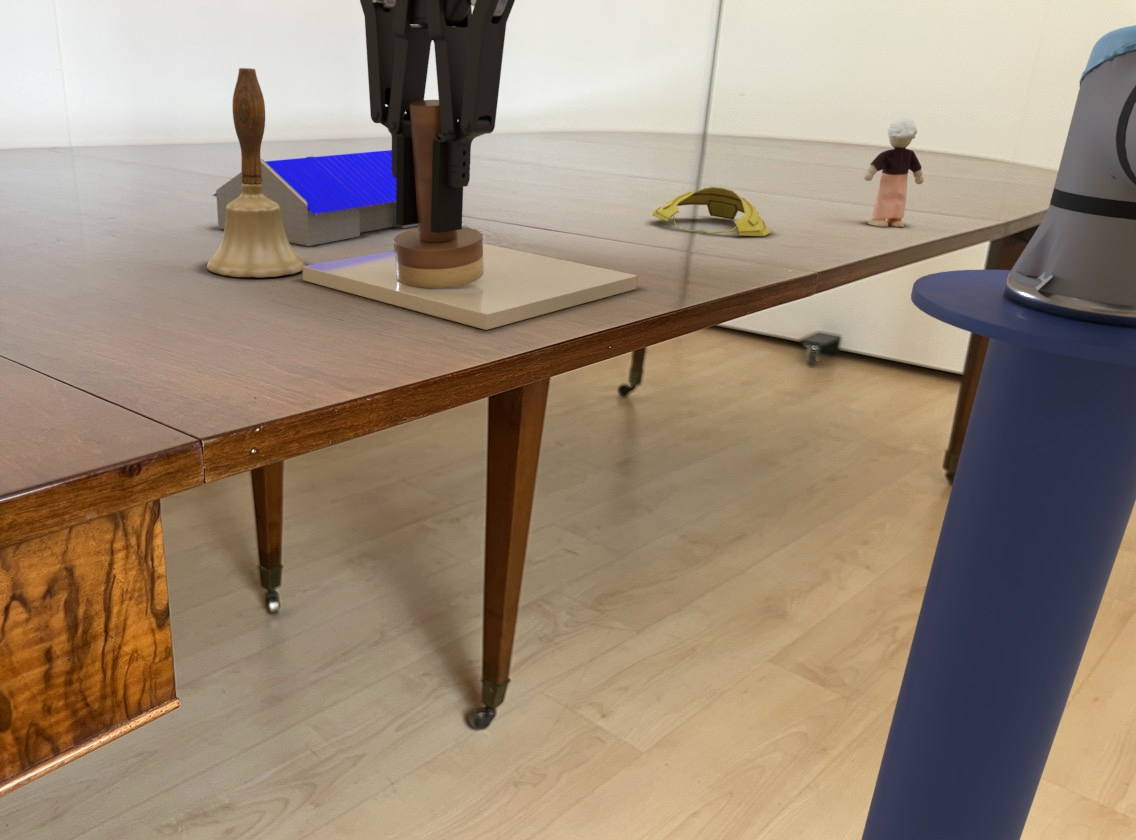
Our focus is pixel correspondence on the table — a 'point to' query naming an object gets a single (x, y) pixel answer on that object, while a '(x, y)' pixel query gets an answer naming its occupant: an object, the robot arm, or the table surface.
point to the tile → (479, 286)
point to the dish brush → (419, 249)
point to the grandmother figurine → (894, 174)
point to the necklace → (718, 210)
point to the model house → (325, 195)
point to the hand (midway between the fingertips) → (428, 226)
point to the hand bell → (252, 200)
